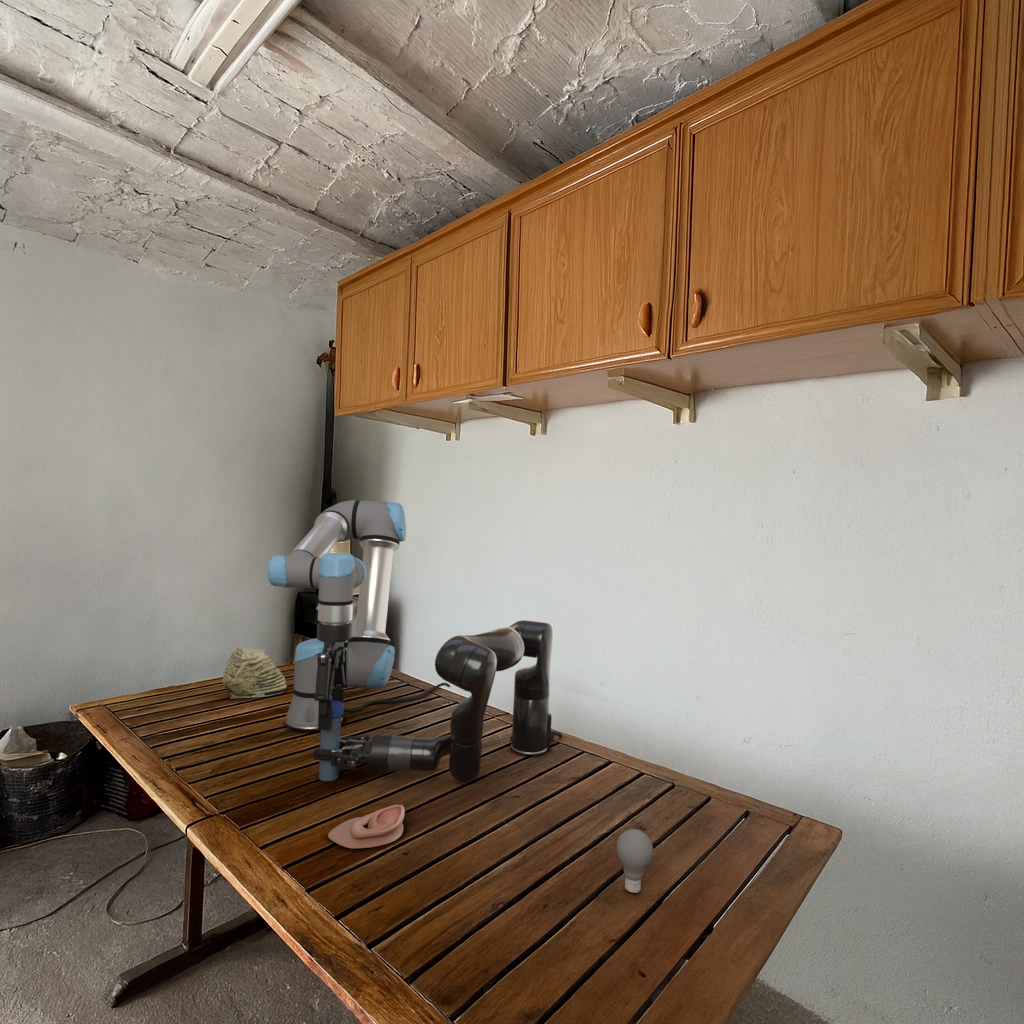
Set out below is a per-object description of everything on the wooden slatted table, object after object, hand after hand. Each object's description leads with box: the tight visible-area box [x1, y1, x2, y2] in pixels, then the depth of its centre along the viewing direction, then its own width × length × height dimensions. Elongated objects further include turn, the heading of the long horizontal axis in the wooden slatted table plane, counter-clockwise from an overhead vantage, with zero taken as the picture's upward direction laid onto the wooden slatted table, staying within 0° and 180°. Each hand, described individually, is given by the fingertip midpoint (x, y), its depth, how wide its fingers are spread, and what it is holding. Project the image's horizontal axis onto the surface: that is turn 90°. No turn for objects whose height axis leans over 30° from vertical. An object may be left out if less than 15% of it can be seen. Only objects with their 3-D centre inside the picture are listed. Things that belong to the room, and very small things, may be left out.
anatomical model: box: [327, 804, 406, 849], centre depth 120 cm, size 13×4×12 cm
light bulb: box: [615, 828, 654, 894], centre depth 106 cm, size 6×6×10 cm
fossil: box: [222, 646, 288, 699], centre depth 198 cm, size 9×18×15 cm, turn 132°
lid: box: [332, 701, 345, 718], centre depth 143 cm, size 5×5×2 cm
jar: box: [318, 716, 342, 782], centre depth 143 cm, size 4×4×16 cm
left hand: (330, 722), depth 143 cm, fingers open, 7 cm apart
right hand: (318, 749), depth 143 cm, fingers closed on jar, 4 cm apart
